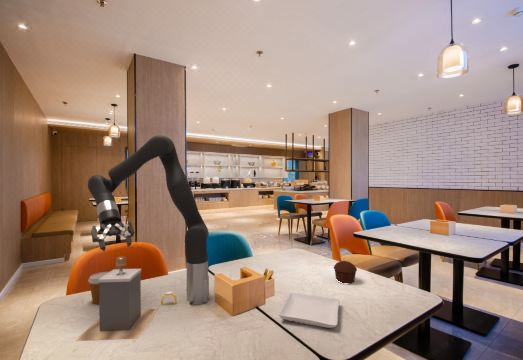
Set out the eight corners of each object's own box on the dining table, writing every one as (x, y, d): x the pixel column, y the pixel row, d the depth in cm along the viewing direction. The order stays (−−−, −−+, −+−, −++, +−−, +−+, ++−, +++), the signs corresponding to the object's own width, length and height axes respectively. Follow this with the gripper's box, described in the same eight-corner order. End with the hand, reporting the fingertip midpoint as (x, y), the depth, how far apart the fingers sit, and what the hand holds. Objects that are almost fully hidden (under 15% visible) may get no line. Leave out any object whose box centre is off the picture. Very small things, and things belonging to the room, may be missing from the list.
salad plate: (339, 306, 111) (339, 298, 111) (337, 334, 91) (337, 324, 91) (290, 299, 118) (290, 291, 118) (277, 324, 98) (277, 314, 98)
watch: (176, 305, 113) (177, 291, 113) (175, 308, 110) (176, 293, 110) (161, 305, 112) (162, 291, 112) (160, 308, 110) (161, 293, 110)
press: (141, 315, 102) (141, 268, 102) (129, 330, 92) (129, 278, 92) (110, 316, 101) (109, 269, 101) (94, 331, 91) (94, 279, 91)
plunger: (134, 309, 100) (134, 254, 100) (126, 318, 93) (126, 260, 93) (116, 309, 100) (115, 255, 100) (106, 319, 93) (106, 260, 93)
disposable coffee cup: (102, 309, 109) (102, 280, 109) (82, 307, 111) (82, 278, 111) (119, 299, 118) (119, 272, 118) (100, 297, 120) (100, 270, 120)
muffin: (359, 279, 140) (359, 261, 140) (354, 287, 130) (354, 266, 130) (336, 275, 146) (336, 257, 146) (330, 282, 137) (330, 262, 137)
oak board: (158, 311, 107) (158, 308, 107) (138, 341, 87) (138, 338, 87) (107, 312, 106) (107, 310, 106) (75, 343, 86) (75, 340, 86)
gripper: (89, 209, 101) (97, 245, 93) (129, 206, 111) (139, 238, 103) (86, 221, 105) (93, 257, 97) (125, 218, 115) (134, 249, 106)
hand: (117, 247), depth 100 cm, fingers open, 8 cm apart
